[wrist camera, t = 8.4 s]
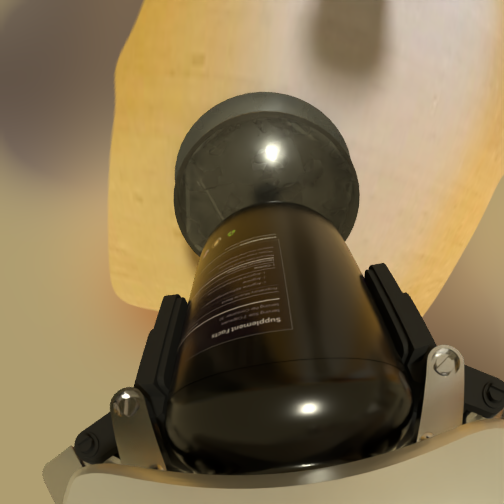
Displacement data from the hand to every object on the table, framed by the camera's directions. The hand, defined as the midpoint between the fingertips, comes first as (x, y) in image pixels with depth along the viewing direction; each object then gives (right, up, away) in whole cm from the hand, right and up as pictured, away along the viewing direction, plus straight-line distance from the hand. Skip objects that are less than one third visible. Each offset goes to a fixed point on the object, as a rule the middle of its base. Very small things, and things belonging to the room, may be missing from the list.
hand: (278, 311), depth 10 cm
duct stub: (0, +9, +13) cm, 15 cm away
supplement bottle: (0, +2, +3) cm, 3 cm away
